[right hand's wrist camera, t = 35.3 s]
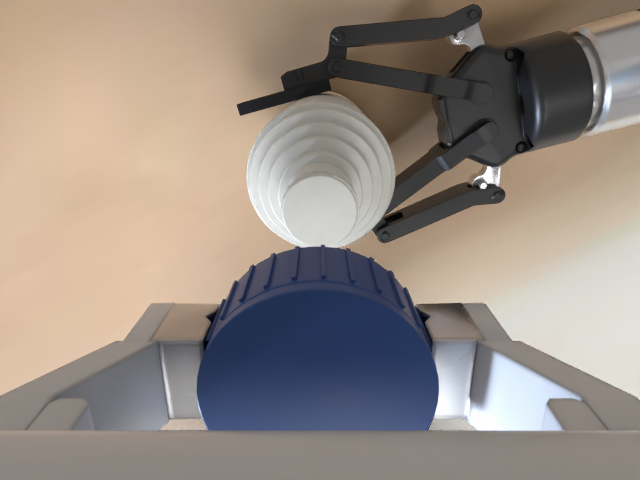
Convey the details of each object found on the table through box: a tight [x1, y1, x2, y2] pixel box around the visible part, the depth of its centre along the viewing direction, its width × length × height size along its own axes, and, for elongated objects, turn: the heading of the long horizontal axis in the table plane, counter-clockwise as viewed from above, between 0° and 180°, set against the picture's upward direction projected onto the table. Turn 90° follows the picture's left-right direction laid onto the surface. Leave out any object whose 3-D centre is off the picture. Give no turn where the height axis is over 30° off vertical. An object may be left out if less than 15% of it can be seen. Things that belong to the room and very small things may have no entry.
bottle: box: [247, 91, 395, 248], centre depth 29 cm, size 8×8×22 cm
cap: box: [197, 245, 439, 430], centre depth 9 cm, size 4×4×2 cm
